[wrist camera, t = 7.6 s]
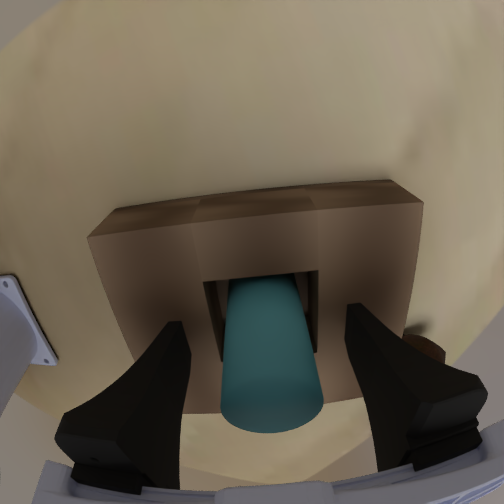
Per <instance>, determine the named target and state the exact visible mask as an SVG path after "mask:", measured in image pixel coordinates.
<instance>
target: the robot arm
mask: <svg viewBox="0 0 504 504" xmlns="http://www.w3.org/2000/svg"><path fill="white" fill-rule="evenodd" d="M344 341H345V345H346V349H347V353H348V357H349V360H350V363H351V366H352V368H353V371H354V374H355V376H356V379H357V381H358V384H359V387H360V389H361V392H362V395H363V398H364V401H365V404H366V408H367V412H368V416H369V421H370V426H371V431H372V436H373V441H374V447H375V453H376V460H377V468H378V473H374V474H370V475H365V476H361V477H356V478H351V479H346V480H341V481H335V482H329V483H328V482H324V481H304V482H295V483H286V484H275V485H261V486H240V487H239V486H238V487H229V488H224V489H222V490H219V491H191V490H180V481H179V452H180V431H181V419H182V413H183V408H184V403H185V398H186V393H187V388H188V383H189V378H190V371H191V356H192V353H191V350H190V347H189V344H188V341H187V337H186V334H185V331H184V327H183V324H182V321H168V322H167V324H166V325H165V326H164V327H163V329H162V330H161V331H160V333H159V334H158V335H157V337H156V338H155V339H154V340H153V342H152V343H151V344H150V345H149V347H148V348H147V349H146V350H145V352H144V353H143V354H142V355H141V356H140V357H139V359H138V360H137V361H136V362H135V363H134V364H133V365H132V366H131V367H130V368H129V369H128V370H127V371H126V372H125V373H124V374H123V375H122V376H121V377H120V378H119V379H117V380H116V381H115V382H114V383H113V384H111V385H110V386H109V387H107V388H106V389H105V390H104V391H102V392H101V393H99V394H98V395H96V396H95V397H93V398H92V399H90V400H89V401H87V402H85V403H84V404H82V405H80V406H78V407H76V408H74V409H72V410H70V411H68V412H66V413H64V415H63V417H62V419H61V422H60V424H59V427H58V429H57V432H56V434H55V441H56V443H57V445H58V446H59V447H60V449H62V451H63V452H64V453H65V454H66V455H67V456H69V458H71V459H72V460H73V461H74V462H75V464H74V467H73V468H71V467H69V466H67V465H64V464H60V463H56V462H53V461H50V460H46V462H45V465H44V467H43V470H42V473H41V476H40V479H39V482H38V485H37V488H36V491H35V494H34V497H33V501H32V504H469V503H471V502H473V501H475V500H477V499H478V498H480V497H482V496H484V495H486V494H488V493H490V492H492V491H493V490H495V489H497V488H499V487H500V486H501V485H502V484H503V483H504V419H503V420H501V421H499V422H497V423H494V424H492V425H491V426H488V427H486V428H484V429H483V430H482V431H480V432H479V431H478V429H477V426H478V425H479V422H478V420H477V418H476V416H477V415H478V413H479V412H480V410H481V409H482V407H483V405H484V404H485V402H486V400H487V396H488V392H487V390H486V388H485V387H484V385H483V383H482V382H481V380H480V378H479V377H478V376H477V375H475V374H471V373H468V372H465V371H462V370H458V369H456V368H453V367H451V366H448V365H446V364H444V363H441V362H439V361H437V360H435V359H433V358H431V357H429V356H427V355H426V354H424V353H422V352H420V351H419V350H417V349H416V348H414V347H413V346H411V345H410V344H408V343H407V342H405V341H404V340H403V339H401V338H400V337H399V336H397V335H396V334H395V333H394V332H392V331H391V330H390V329H389V328H388V327H387V326H385V325H384V324H383V323H382V322H381V321H380V320H379V319H378V318H377V317H375V316H374V315H373V314H372V313H371V312H370V311H369V310H368V309H367V308H366V307H365V306H364V305H363V304H362V303H353V304H347V312H346V324H345V335H344ZM57 363H58V359H57V358H56V356H55V354H54V352H53V351H52V349H51V347H50V346H49V344H48V342H47V340H46V338H45V337H44V335H43V333H42V331H41V329H40V327H39V325H38V323H37V322H36V320H35V318H34V316H33V314H32V312H31V310H30V308H29V306H28V303H27V301H26V299H25V297H24V295H23V293H22V291H21V288H20V286H19V284H18V282H17V280H16V278H15V277H14V276H12V275H6V276H0V417H1V415H2V413H3V411H4V409H5V407H6V405H7V403H8V401H9V400H10V398H11V396H12V394H13V392H14V390H15V389H16V387H17V385H18V383H19V382H20V380H21V378H22V376H23V375H24V373H25V371H26V370H27V368H28V366H29V364H40V365H50V366H56V365H57Z"/></svg>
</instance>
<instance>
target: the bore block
mask: <svg viewBox="0 0 504 504" xmlns="http://www.w3.org/2000/svg"><path fill="white" fill-rule="evenodd" d="M423 204H424V202H423V201H421V200H420V199H418V198H417V197H416V196H414V195H413V194H411V193H410V192H408V191H407V190H405V189H404V188H402V187H401V186H400V185H398V184H397V183H395V182H394V181H392V180H375V181H356V182H340V183H326V184H313V185H301V186H289V187H278V188H268V189H258V190H248V191H239V192H230V193H222V194H214V195H206V196H198V197H190V198H183V199H176V200H169V201H162V202H155V203H148V204H142V205H135V206H129V207H123V208H117V209H115V210H114V211H113V212H112V213H111V214H110V215H108V216H107V217H106V218H105V219H104V220H103V221H102V222H101V223H100V224H99V225H98V226H97V227H96V228H95V229H94V230H93V231H92V233H91V234H90V235H89V236H88V237H87V240H88V243H89V246H90V249H91V252H92V255H93V258H94V261H95V264H96V267H97V270H98V273H99V275H100V278H101V281H102V284H103V286H104V289H105V292H106V294H107V297H108V300H109V302H110V305H111V307H112V310H113V312H114V315H115V317H116V320H117V322H118V324H119V327H120V329H121V331H122V334H123V336H124V338H125V341H126V343H127V345H128V347H129V350H130V352H131V354H132V356H133V358H134V360H135V362H136V361H137V360H138V359H139V357H140V356H141V355H142V354H143V353H144V352H145V350H146V349H147V348H148V347H149V345H150V344H151V343H152V342H153V340H154V339H155V338H156V337H157V335H158V334H159V333H160V331H161V330H162V329H163V327H164V326H165V325H166V324H167V322H168V321H182V324H183V327H184V331H185V334H186V337H187V341H188V344H189V347H190V350H191V353H192V356H191V371H190V378H189V383H188V388H187V393H186V398H185V403H184V408H183V413H182V414H209V413H221V409H220V403H221V386H222V370H223V355H224V340H225V326H226V312H227V298H228V285H229V279H236V278H246V277H256V276H266V275H276V274H285V273H294V275H295V279H296V283H297V287H298V291H299V295H300V299H301V303H302V307H303V311H304V315H305V320H306V324H307V328H308V332H309V336H310V340H311V345H312V349H313V353H314V357H315V362H316V366H317V370H318V375H319V379H320V384H321V388H322V393H323V397H324V403H323V404H325V403H331V402H338V401H344V400H349V399H355V398H360V397H363V395H362V392H361V389H360V387H359V384H358V381H357V379H356V376H355V374H354V371H353V368H352V366H351V363H350V360H349V357H348V353H347V349H346V345H345V341H344V335H345V324H346V312H347V304H353V303H362V304H363V305H364V306H365V307H366V308H367V309H368V310H369V311H370V312H371V313H372V314H373V315H374V316H375V317H377V318H378V319H379V320H380V321H381V322H382V323H383V324H384V325H385V326H387V327H388V328H389V329H390V330H391V331H392V332H394V333H395V334H396V335H397V336H399V337H400V338H401V339H402V336H403V331H404V327H405V322H406V318H407V313H408V308H409V303H410V298H411V293H412V288H413V282H414V276H415V270H416V263H417V257H418V250H419V242H420V234H421V225H422V215H423Z"/></svg>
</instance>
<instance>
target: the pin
mask: <svg viewBox="0 0 504 504" xmlns="http://www.w3.org/2000/svg"><path fill="white" fill-rule="evenodd" d="M323 403H324V397H323V393H322V388H321V384H320V379H319V375H318V370H317V366H316V362H315V357H314V353H313V349H312V345H311V340H310V336H309V332H308V328H307V324H306V320H305V315H304V311H303V307H302V303H301V299H300V295H299V291H298V287H297V283H296V279H295V275H294V273H285V274H276V275H266V276H256V277H246V278H236V279H229V285H228V298H227V312H226V326H225V340H224V355H223V370H222V386H221V403H220V409H221V413H222V415H223V416H224V418H225V419H226V420H227V421H228V422H229V423H231V424H232V425H234V426H236V427H238V428H240V429H243V430H246V431H250V432H256V433H278V432H284V431H288V430H292V429H295V428H298V427H300V426H302V425H304V424H306V423H308V422H309V421H311V420H312V419H313V418H315V417H316V416H317V415H318V414H319V412H320V411H321V409H322V407H323Z"/></svg>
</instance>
